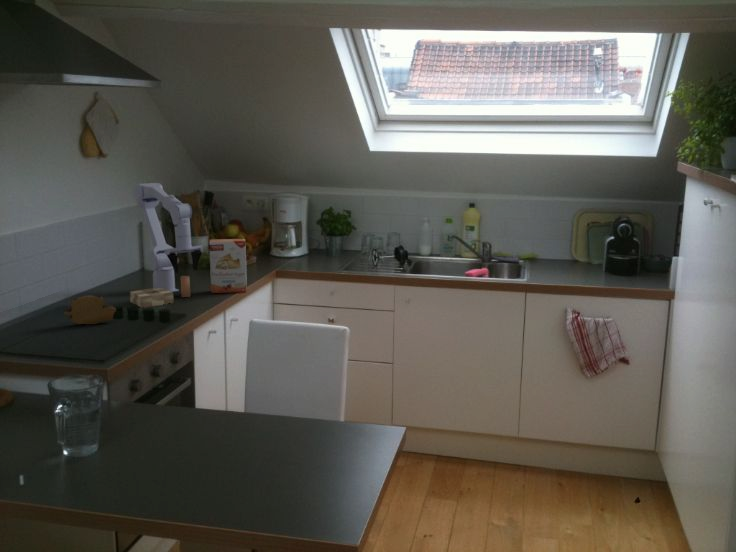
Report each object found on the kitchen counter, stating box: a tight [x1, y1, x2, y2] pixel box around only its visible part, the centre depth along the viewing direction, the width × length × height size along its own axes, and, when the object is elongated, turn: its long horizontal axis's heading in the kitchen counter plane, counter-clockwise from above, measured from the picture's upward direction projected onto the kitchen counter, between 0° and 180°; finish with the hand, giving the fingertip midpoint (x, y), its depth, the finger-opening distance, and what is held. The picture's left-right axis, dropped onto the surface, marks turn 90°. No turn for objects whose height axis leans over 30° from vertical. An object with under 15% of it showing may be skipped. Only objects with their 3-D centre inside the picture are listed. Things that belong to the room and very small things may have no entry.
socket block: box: [129, 287, 175, 309], centre depth 278 cm, size 12×12×4 cm
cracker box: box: [208, 238, 248, 294], centre depth 295 cm, size 14×6×21 cm, turn 99°
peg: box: [180, 275, 192, 298], centre depth 287 cm, size 3×3×8 cm
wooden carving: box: [63, 294, 117, 325], centre depth 247 cm, size 16×5×10 cm, turn 114°
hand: (185, 271), depth 285 cm, fingers open, 7 cm apart
